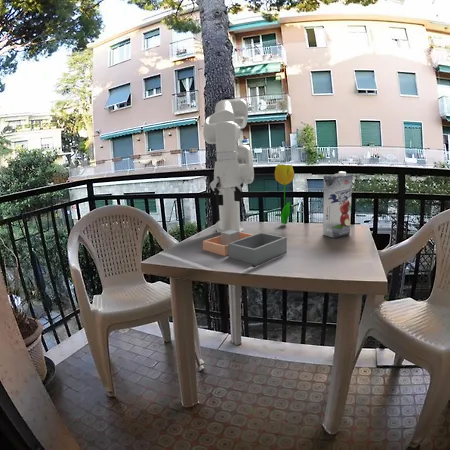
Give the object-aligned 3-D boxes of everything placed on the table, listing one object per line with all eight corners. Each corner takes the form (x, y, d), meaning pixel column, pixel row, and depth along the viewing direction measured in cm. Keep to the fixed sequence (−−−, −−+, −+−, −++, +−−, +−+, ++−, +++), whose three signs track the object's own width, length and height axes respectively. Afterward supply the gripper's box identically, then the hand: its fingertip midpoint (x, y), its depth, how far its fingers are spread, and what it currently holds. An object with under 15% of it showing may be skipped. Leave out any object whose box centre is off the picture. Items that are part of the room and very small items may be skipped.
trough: (203, 252, 123) (202, 240, 122) (235, 241, 136) (235, 230, 134) (225, 258, 115) (224, 246, 114) (257, 246, 127) (257, 235, 126)
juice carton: (319, 235, 138) (320, 172, 132) (336, 231, 143) (338, 170, 136) (335, 239, 130) (337, 172, 124) (353, 235, 135) (356, 170, 129)
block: (221, 247, 125) (220, 232, 124) (230, 244, 128) (229, 229, 127) (230, 249, 122) (230, 234, 120) (239, 246, 125) (239, 231, 124)
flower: (282, 228, 152) (282, 164, 145) (272, 225, 159) (271, 164, 152) (297, 225, 156) (297, 163, 149) (286, 222, 163) (286, 163, 156)
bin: (229, 259, 114) (228, 243, 112) (261, 247, 126) (260, 232, 124) (254, 267, 105) (254, 249, 104) (286, 253, 117) (286, 237, 116)
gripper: (235, 155, 125) (237, 199, 129) (202, 158, 114) (205, 205, 118) (250, 155, 120) (251, 200, 124) (216, 158, 108) (219, 207, 112)
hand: (229, 203), depth 121 cm, fingers open, 9 cm apart
